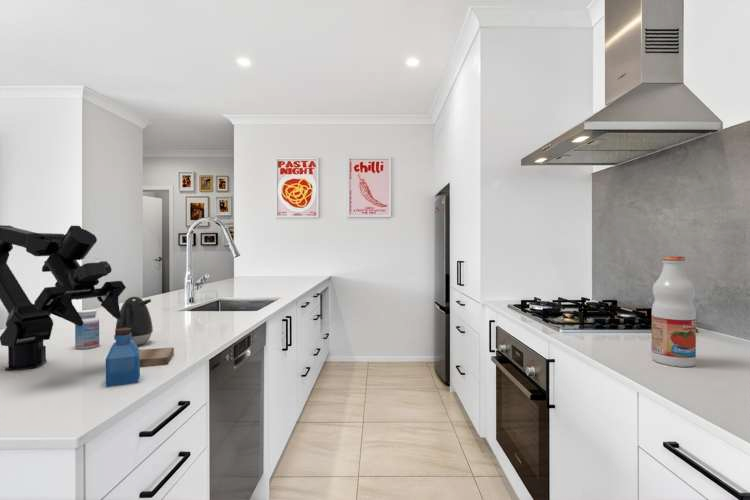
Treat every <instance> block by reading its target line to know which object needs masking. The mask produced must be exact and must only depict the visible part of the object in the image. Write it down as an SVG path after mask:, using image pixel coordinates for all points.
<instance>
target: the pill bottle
mask: <svg viewBox="0 0 750 500" xmlns="http://www.w3.org/2000/svg"><path fill="white" fill-rule="evenodd" d="M77 312H78V313H79V315H80V317H81V318H82V321H83V325H82V326H78V325H76V324H74V325H75V326H74V348H75V349H77V350H87V349H88V350H89V349H95V348H98V347H99V346H100V319H99V318H98V317H97V310H96V309H85V310H84V309H83V310H78V311H77Z"/></svg>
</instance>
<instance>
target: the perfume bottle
mask: <svg viewBox="0 0 750 500" xmlns="http://www.w3.org/2000/svg"><path fill="white" fill-rule="evenodd" d="M130 331H131V328H119V329H116V328H114V333H115V332H116V335H115V334H114V335H113V337H114V338H113V339H114V341H115V342H113V343H112V346H111V348H110V350H109V351H108V353H107V355H106V358H105V388H109V387H110V388H111V387H116V386H118V387H119V386H125V385H130V384H131V385H132V384H137V383H139V380H140V378H141V377H140V376H141V370H140V369H141V367H140V350H141V349H140V348H139V346H137V345H136V343H135V342H134V341H130V338H132V333H130Z"/></svg>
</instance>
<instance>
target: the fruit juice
mask: <svg viewBox="0 0 750 500" xmlns="http://www.w3.org/2000/svg"><path fill="white" fill-rule="evenodd" d="M661 263H662V264H663V266H662V270H661V271H660V272H661V273H660V275H659V277H658V278H657V279H656V281H655V282H654V283H653V285H652V294H653V297H654V300H653V303H652V307H651V350H650V351H651V353H650V354H651V359H652V361H654V362H656V363H657V364H662V365H666V366H672V367H680V368H690V367H694V366H695V365H696V362H697V361H696V357H697V355H696V353H697V352H696V351H697V346H696V344H697V339H696V338H697V331H696V330H697V325H696V324H697V312H696V307H695V305H694V299H695V297H696V287H695V285H694V283H693V282H692V281H691V280H690V279H689V277H688V276H687V272H686V270H685V263H686V257H685V256H678V255H677V256H676V255H675V256H673V255H668V256H667V255H666V256H664V255H663V256H662V258H661Z"/></svg>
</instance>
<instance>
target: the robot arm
mask: <svg viewBox="0 0 750 500" xmlns="http://www.w3.org/2000/svg"><path fill="white" fill-rule="evenodd" d="M97 241H98V238H97V237H96V235H95V234H93V233H92V232H90V231H89V230H86V229H84V228H82V226H80V225H70V227H69V228H68V230H67V232H66V234H64V233H52V232H51V233H50V232H49V233H45V232H42V233H41V232H34V231H31V230H26V229H21V228H17V227H15V226H12V225H6V224H5V225H3V224H0V302H1V303H2V305H3V306H4V308H5V309H6V312H7V314H8V315H7V318H6V321H5V326H6V328H5V329H4V330H3V332H2V333H1V335H0V345H1V346H2V347H3V346H4V347H7V350H8V353H7V354H8V356H7V357H8V365H7V367H5V368H4V371H13V370H15V371H16V370H26V369H35V368H38V367H40V366H41V365H43V364H45V363H46V362H47V361H48V360H47V352H46V351H47V350H46V349H47V347H46V345H44V341H47V340H48V341H49V340H50V339H51V335H52V331H53V327H54V320H53V319H52V317H51V315H54V316H56V317H59V318H62V319H63V320H65V321H68V322H70V323H72V324H74V325H75V324H76V325H78V326H82V325H83V321H82V318H81V317H80V315H79V313H78V311H77V308H75V305H74V304H73V302H72V300H76V301H77V300H85V299H94V298H96V299H97V300H98V301H99V302H100V303H101V304H100V306H101V307H102V308H104V310H105V311H107V312H108V313H109V314H110V315H111V316H112V317H113V318H115V319H116V320H117V319H119V318H120V317H121V315H120V309H121V308H120V304H119V297H120V296H121V294H122V293H123V292H124V290H125V289H126V288H127V287H126V285H125V284H124V283H123V281H122V280H113V281H111V280H110V281H105V282H104V283H103V284H102V286H101V287H100V288H96V287H95V286H97V285H98V284H99V283H100V279H101V278H103V277H106V276H108V275H109V274H110V273H112V270H113V269H112V266H111V264H109V262H108V261H107V260H103V261H102V260H100V261H99V262H87V263H84V264H82V265H81V264H80V263H79V261H82V260H83V259H85V257H86V256H87V255H88V254H89V253H90V251H91V250H92V248H93V247H94V246H95V244H96V243H97ZM13 245H15V246H18V247H22V248H24V249H25V251H26V252H27V253H28V254H30V255H33V256H34V257H47V259H46V260H45V261H44V262H43V263H44V264H43V265H42V268H41V271H42V273H44V272H45V273H48V272H49V273H51V274H52V275H53V277H54V278H55V281H56V282H55V284H54V286H46V287H45V286H44V288H43V289H42V291H41V292H40V293H39V295H38V296H37V298H36V299H35V300H34V303H32V302H31V301H30V299H29V297H28V295H27V294H26V292H25V290H24V289H23V287H22V286H21V284H20V282H19V281H18V279H17V278H16V276H15V274H14V273H13V271H12V270H11V269H10V268H11V267H9V265H8V260H9V257H10V252H11V251H12V250H13V249H14V246H13Z"/></svg>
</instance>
